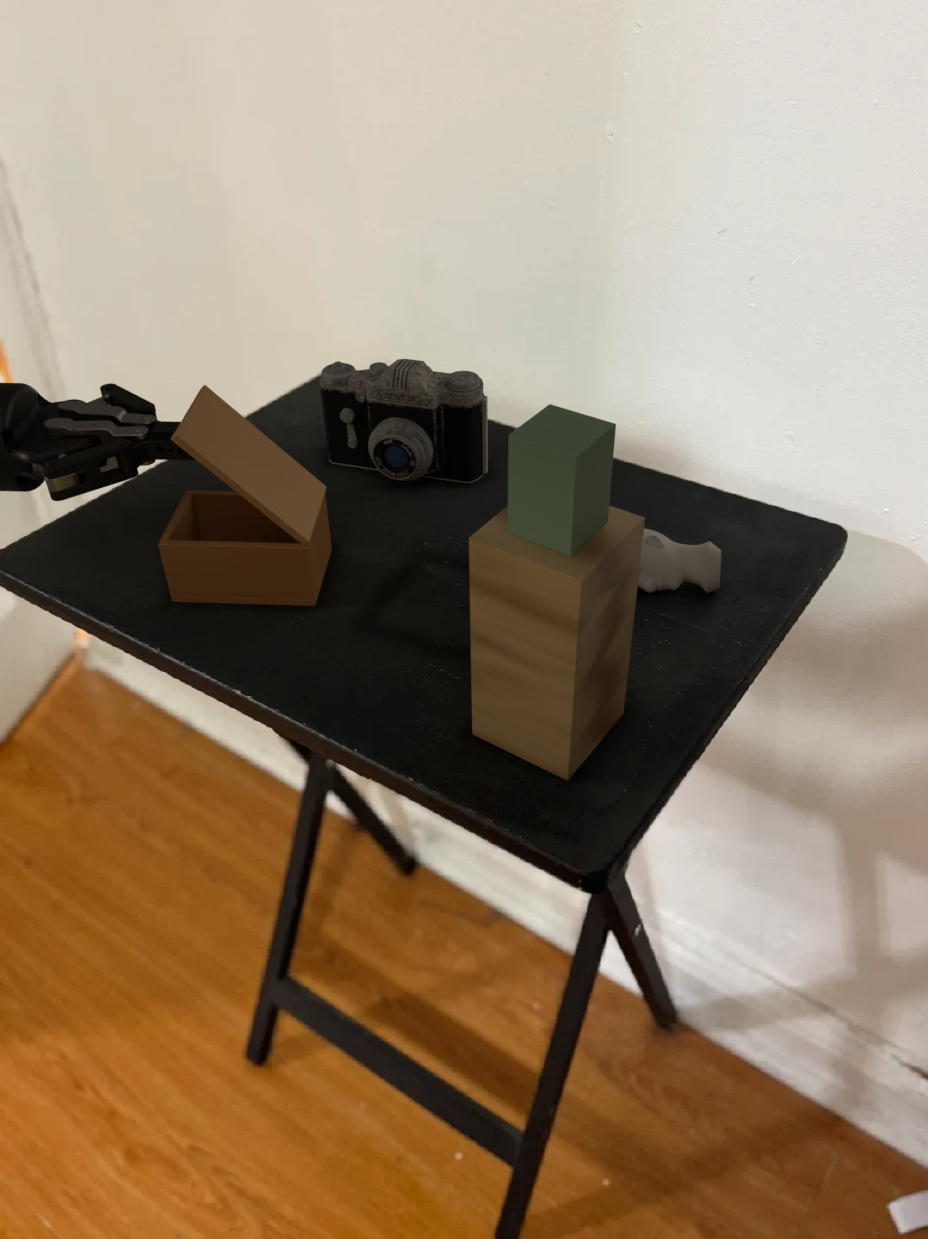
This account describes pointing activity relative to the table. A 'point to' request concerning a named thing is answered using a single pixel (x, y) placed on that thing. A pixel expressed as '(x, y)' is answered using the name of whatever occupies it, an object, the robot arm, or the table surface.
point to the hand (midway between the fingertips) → (208, 441)
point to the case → (240, 554)
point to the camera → (406, 420)
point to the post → (551, 639)
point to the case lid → (250, 464)
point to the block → (559, 478)
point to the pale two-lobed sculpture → (677, 564)
